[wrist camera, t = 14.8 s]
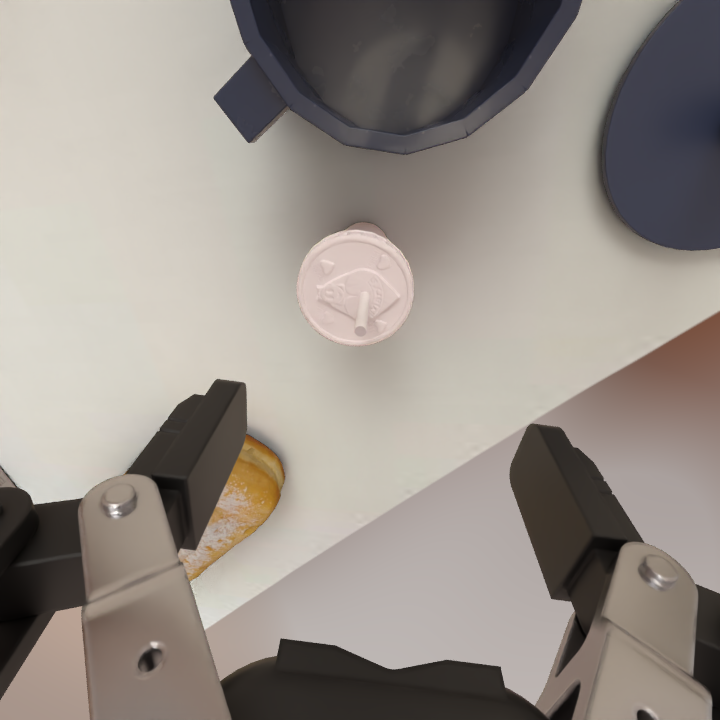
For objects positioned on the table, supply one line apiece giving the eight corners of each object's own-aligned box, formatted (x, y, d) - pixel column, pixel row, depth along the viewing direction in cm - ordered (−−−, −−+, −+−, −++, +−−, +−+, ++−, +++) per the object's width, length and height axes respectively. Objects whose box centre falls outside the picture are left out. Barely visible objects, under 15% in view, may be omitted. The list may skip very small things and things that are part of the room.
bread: (85, 518, 48) (34, 584, 41) (193, 386, 37) (149, 445, 30) (183, 567, 52) (152, 635, 45) (307, 461, 41) (291, 528, 34)
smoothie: (403, 290, 31) (413, 394, 19) (321, 287, 31) (280, 387, 19) (410, 203, 28) (429, 261, 16) (319, 200, 28) (268, 255, 16)
